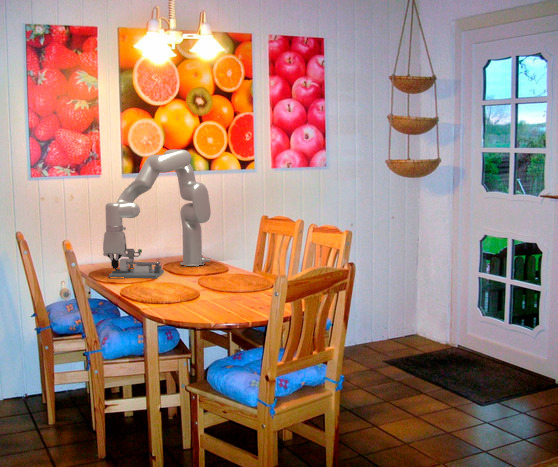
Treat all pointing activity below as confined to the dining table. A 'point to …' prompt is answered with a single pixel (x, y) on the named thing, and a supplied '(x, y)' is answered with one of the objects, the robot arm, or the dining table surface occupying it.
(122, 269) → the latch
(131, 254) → the mechanical component
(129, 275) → the socket board
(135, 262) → the silver metal bar
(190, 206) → the robot arm
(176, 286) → the dining table surface
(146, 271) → the heatsink
